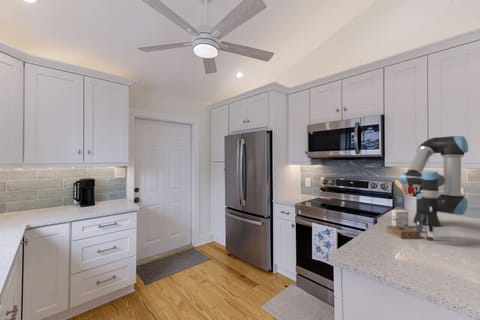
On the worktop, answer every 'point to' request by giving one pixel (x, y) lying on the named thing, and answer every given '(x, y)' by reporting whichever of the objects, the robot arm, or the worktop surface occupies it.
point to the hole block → (403, 232)
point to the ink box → (399, 218)
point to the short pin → (419, 226)
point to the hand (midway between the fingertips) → (429, 234)
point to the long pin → (427, 236)
